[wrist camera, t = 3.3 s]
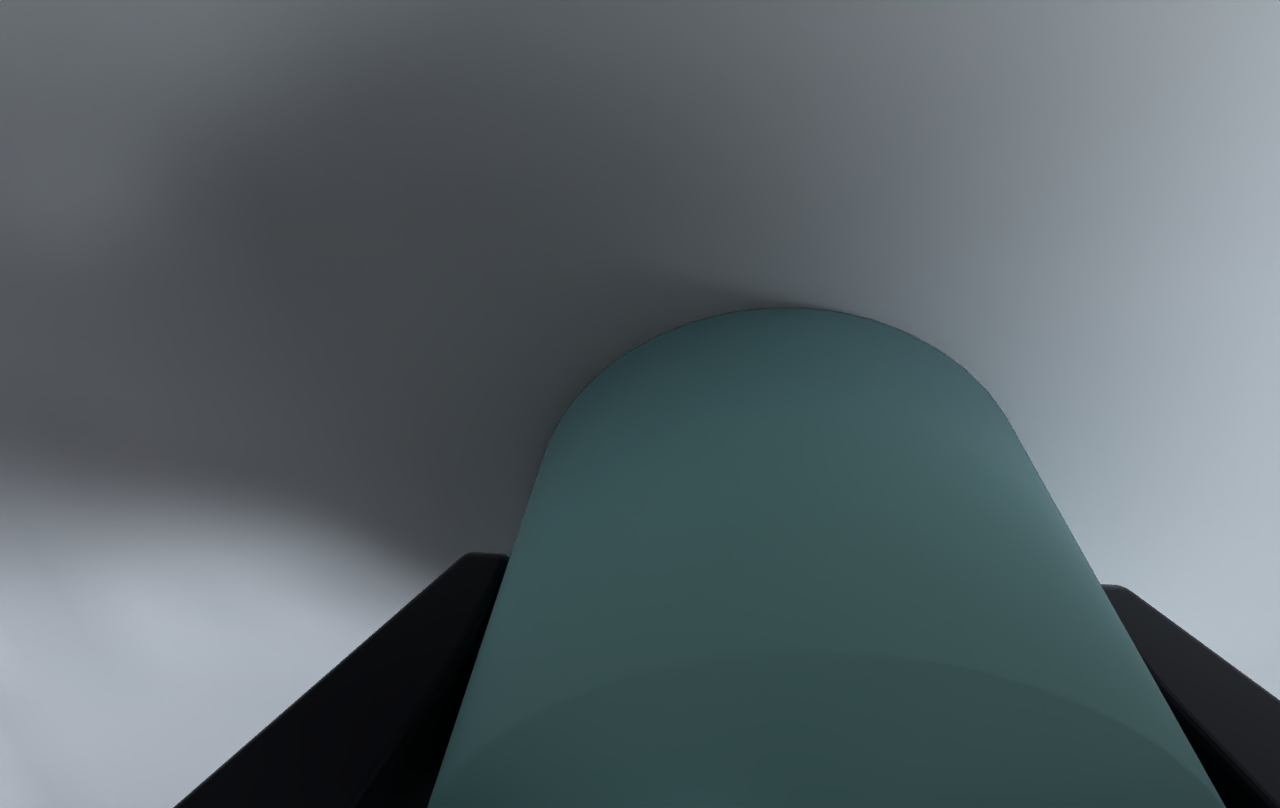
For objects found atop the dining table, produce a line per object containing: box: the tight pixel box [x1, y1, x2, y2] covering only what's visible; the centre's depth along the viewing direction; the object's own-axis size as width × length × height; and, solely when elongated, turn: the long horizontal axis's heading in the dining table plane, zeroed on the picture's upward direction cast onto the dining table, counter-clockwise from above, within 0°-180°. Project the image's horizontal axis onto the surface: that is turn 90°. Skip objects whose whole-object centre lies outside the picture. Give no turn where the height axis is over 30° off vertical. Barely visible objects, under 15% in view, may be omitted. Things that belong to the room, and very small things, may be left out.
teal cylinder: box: [427, 308, 1226, 808], centre depth 7 cm, size 5×5×4 cm
